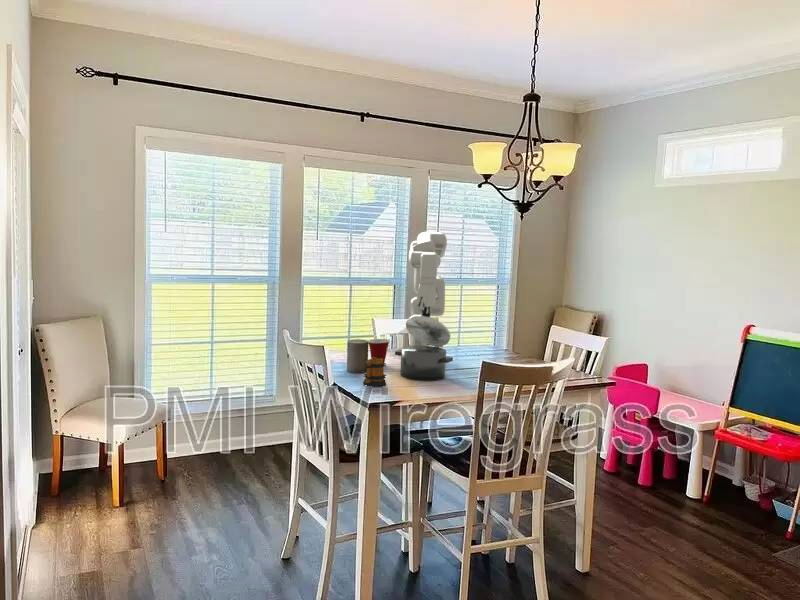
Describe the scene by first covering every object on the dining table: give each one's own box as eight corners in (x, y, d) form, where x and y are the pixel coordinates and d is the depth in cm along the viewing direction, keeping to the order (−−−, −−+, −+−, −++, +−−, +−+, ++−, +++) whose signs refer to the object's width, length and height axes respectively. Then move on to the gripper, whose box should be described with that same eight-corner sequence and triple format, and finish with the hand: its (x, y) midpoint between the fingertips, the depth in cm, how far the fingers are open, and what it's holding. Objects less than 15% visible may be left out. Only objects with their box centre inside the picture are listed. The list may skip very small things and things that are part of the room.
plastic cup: (369, 361, 307) (370, 337, 306) (390, 363, 305) (392, 338, 304) (363, 365, 297) (364, 340, 295) (386, 367, 295) (387, 342, 293)
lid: (399, 314, 279) (402, 309, 281) (414, 343, 294) (416, 338, 296) (442, 319, 269) (444, 314, 270) (455, 349, 284) (457, 344, 286)
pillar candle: (370, 369, 288) (371, 337, 287) (363, 373, 279) (364, 340, 278) (351, 367, 291) (352, 335, 290) (342, 371, 282) (343, 338, 281)
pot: (386, 375, 279) (387, 348, 278) (407, 367, 296) (409, 342, 295) (438, 384, 266) (440, 356, 265) (458, 376, 284) (459, 350, 282)
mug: (369, 380, 268) (370, 353, 267) (390, 383, 264) (392, 356, 263) (354, 386, 256) (356, 358, 255) (377, 390, 252) (378, 362, 251)
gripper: (428, 279, 285) (425, 319, 287) (412, 281, 272) (410, 323, 274) (442, 281, 282) (440, 321, 284) (427, 282, 269) (425, 325, 271)
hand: (425, 322), depth 279 cm, fingers closed
